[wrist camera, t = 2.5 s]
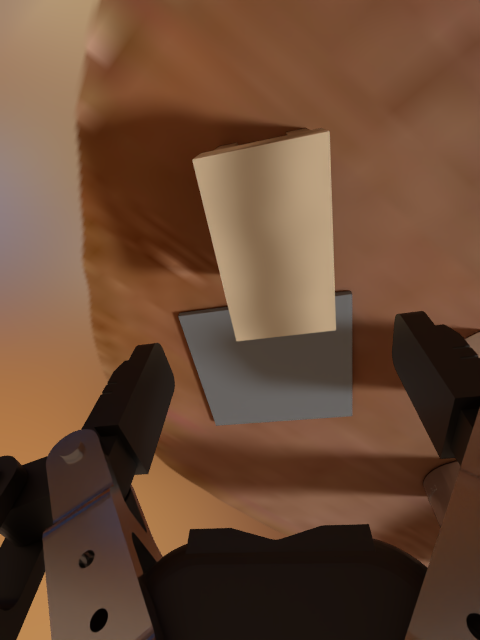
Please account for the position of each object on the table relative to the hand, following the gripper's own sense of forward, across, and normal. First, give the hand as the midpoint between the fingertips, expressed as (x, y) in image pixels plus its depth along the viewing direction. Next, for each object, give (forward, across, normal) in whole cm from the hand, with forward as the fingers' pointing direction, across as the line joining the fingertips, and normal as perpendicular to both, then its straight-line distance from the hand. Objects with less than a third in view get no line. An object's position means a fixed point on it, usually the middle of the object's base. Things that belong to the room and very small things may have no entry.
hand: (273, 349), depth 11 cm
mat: (+17, +2, +16) cm, 23 cm away
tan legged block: (+17, 0, 0) cm, 17 cm away
